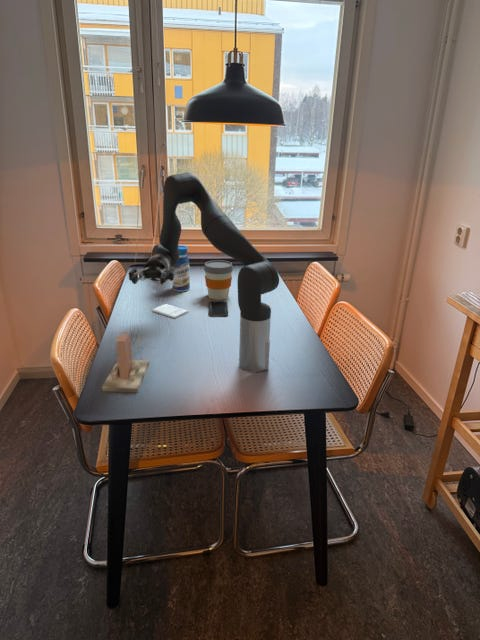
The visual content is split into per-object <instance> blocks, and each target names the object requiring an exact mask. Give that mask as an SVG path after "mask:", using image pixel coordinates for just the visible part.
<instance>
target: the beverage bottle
mask: <svg viewBox="0 0 480 640" xmlns="http://www.w3.org/2000/svg"><path fill="white" fill-rule="evenodd" d="M178 248H179V261H178V263H177V265H176V266H174V267H170V269H171V268H174V275H175V276H174V279H173V280H172V281H171V285H172V286H171V288H172V290H173V291H175V292H178V293H179V292H187V291H189V290H190V288H191V282H190V281H191V280H190V259H189V257H188V256H187V255H188V247H187V245H186V246H185V245H178Z"/></svg>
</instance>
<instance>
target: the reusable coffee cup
mask: <svg viewBox="0 0 480 640" xmlns="http://www.w3.org/2000/svg"><path fill="white" fill-rule="evenodd" d="M233 269H234V268H233V263H232V262H230V261H227V260H221V259H219V260H218V259H217V260H209V261H206V262H205V263H204V269H203V270H204V273H205V275H204V279H205V287H206V288H207V294H208V298H210V299H212V300H215V301H217V300H218V301H222V300H226V299H227V298H229V294H230V288H231V287H232V280H233V279H232V278H233V276H232V274H233V273H232V272H233V271H234V270H233Z"/></svg>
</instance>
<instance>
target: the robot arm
mask: <svg viewBox="0 0 480 640" xmlns="http://www.w3.org/2000/svg"><path fill="white" fill-rule="evenodd" d="M162 193H163V195H162V196H163V197H162V198H163V199H162V200H163V201H162V202H163V203H162V225H161V230H160V233H159V234H160V235H159V243H158V244H155V245H154V246H153V247H152V250H151V256H150V258H149V259H148V260H147V262H146V263H145V264H144V267H143V268H142V269H139V270H138V269H137V268H136V267H134V268H132V269H131V270H130V271H128V280H129V281H131V283H132V284H133V285H136V284H137V283H138V282H139V281H142V282H144V281H147V280H150V281H154V282H160V283H159V284H160V285H164V283H166V282H168V280H169V281H171V282H172V280H173V279H174V276H175V275H174V268H171V267H174V266H176V265H177V263H178V261H179V248H178V246H179V242H180V238H181V234H182V224H181V221H180V219H179V218H178V216H177V213H176V212H177V208H178V205H180V204H181V205H182V204H187V203H191V202H192V203H194V204H195V206H196V207H197V209H198V210H199V211H200V228H201V232H202V234H203V235H204V236H205V238H206V239H207V240H208V241H209V243H210V244H211V245H212V246H213V248H215V249H216V250H217V251H219V252H221V253H223V254H224V255H226V256H228V257H230V258H233V259H234V260H236V261H237V262H239V263H241V265H243V266H242V267H241V268H240V269H239V271H238V274H237V304H238V308H239V312H240V313H239V316H240V317H239V319H240V320H239V321H240V322H239V346H238V347H239V351H238V352H239V353H238V354H239V355H238V357H239V358H238V365H239V368H240V369H242V370H243V371H246V372H249V373H260V372H263V371H269V368H270V367H269V365H270V351H271V350H270V347H271V346H270V345H271V342H270V341H271V340H270V337H271V332H270V331H271V320H272V319H271V317H272V316H271V315H272V307H271V306H270V305H269V304H267V303H265V302H262V295H265V294H267V293H270V292H272V291H274V290H276V289H277V288H278V287H279V284H280V277H279V276H280V275H279V273H278V270H277V268H276V267H275V266H274V265H273V263H271V261H270V260H268V258H266V256H264V255H263V254H262V252H260V251H259V250H258V249H257V248H256V247H255V246H253V244H252V243H251V242H250V241H249V240H248V239H247V238H246V236H245V235H244V234H243V233H242V232H241V231H240V230H239V229H238V227H237V226H236V225H235V223H233V221H232V220H231V219H230V217H229V216H228V215H227V214H226V213H225V212H224V211H223V210H222V209H221V207H220V206H219V205H218V203H217V202H216V201H215V200H214V199H213V198H212V195H211V194H210V193H209V191H208V190H207V188H206V187H205V185H204V184H203V183H202V181H201V180H200V179H199V177H198V176H197V175H196V174H194V173H192V172H183V173H176V174H172V175H168V176H167V177H166V178H165V180H164V184H163V192H162Z"/></svg>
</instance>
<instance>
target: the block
mask: <svg viewBox="0 0 480 640" xmlns="http://www.w3.org/2000/svg"><path fill="white" fill-rule="evenodd" d="M130 336H131V335H130V333H120V334H119V335H118V337H117V339H116V353H117V360H118V363H119V373H120V378H129V376H130V373H131V371H132V369H133V367H132V360H133V359H132V358H133V357H132V346H131V337H130Z"/></svg>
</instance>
